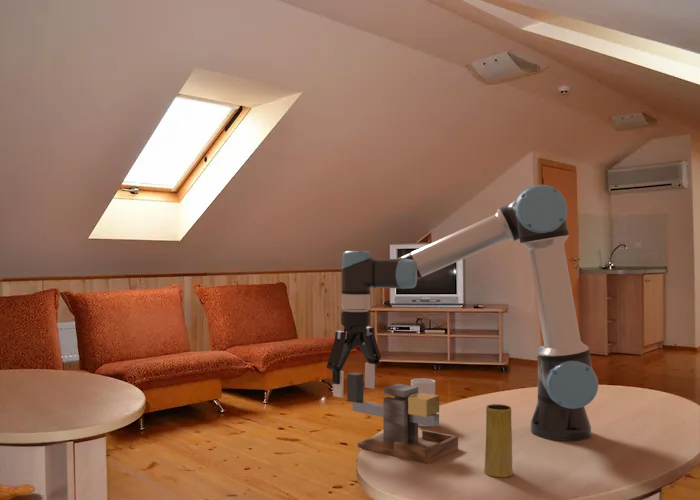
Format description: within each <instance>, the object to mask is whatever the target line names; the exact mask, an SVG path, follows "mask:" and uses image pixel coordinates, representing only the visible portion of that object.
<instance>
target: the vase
mask: <svg viewBox="0 0 700 500" xmlns="http://www.w3.org/2000/svg"><path fill="white" fill-rule="evenodd" d="M485 410H486V411H485V414H486V415H485V416H486V417H485V418H486V423H485V425H486V427H485V428H486V429H485V430H486V431H485V433H486V434H485V454H484V455H485V457H484V474H486V475H487V476H489V477H493V478H499V479H500V478H501V479H503V478H504V479H505V478H509V477H512V476H513V475H514V471H513V438H512V437H513V436H512V435H513V433H512V432H513V431H512V430H513V429H512V407H511V406H510V405H507V404H499V403H498V404H497V403H494V404H488V405H486V409H485Z"/></svg>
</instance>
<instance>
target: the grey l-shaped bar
mask: <svg viewBox="0 0 700 500" xmlns="http://www.w3.org/2000/svg"><path fill="white" fill-rule="evenodd" d="M346 375H347V376H346V379H347V381H346V383H347V384H346V387H347V388H346V389H347V391H346V398H347V399H346V401H347V402H351V403H352V410H351V411H352V412H356V413H362V414H367V415H371V416H377V417H380V418H381V417H382V418H383V403H377V402H372V401H366V400H364V373H361V372H356V371H355V372H350V373H347V374H346ZM408 422H413V423H418V424H423V425H429V426H428V427H436V426H438V425H440V414H439V413H436V414H433V415H431V416H428V417H423V416H417V415H412V414H408Z"/></svg>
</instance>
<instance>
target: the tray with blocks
mask: <svg viewBox="0 0 700 500" xmlns="http://www.w3.org/2000/svg"><path fill="white" fill-rule="evenodd" d="M416 393H418V387H416V386H411V384H410V385H408V384H403V383H395V384H392V385H388V386H385V387H383V395H387V396H393V397H387V396H385V397H383V403H382V404H383V417H382V419H383V427H382V428H383V429H382V431H383V433H380V434H377V435H375V436H372V437H370V438H368V439H364V440H361V441H359V442H357V448H359V449H364V450H367V451H373V452H377V453H381V454H386V455H389V456H394V457H399V458H403V459H407V460H410V461H415V462H420V463H425V464H428V465H429V464H432V463H434V462H435V461H437V460H439V459H441V458H443V457H445V456H446V455H449V454H451V453H453V452H454V451H456V450H459V436H458V435H453V434H447V433H443V432H442V433H441V432H438V431H433V430H427V429H422V430H421V431H422V432H421V436H419V426H418V423H413V422H408V397H410V396H411V395H413V394H416Z"/></svg>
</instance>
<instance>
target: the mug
mask: <svg viewBox="0 0 700 500" xmlns="http://www.w3.org/2000/svg"><path fill="white" fill-rule="evenodd" d="M410 386H416V387H418V393H416V394H419V393H426V394H433V395H436V380H435V379H432V378H412V379H410ZM416 394H413V395H416ZM413 395H410V396H413ZM418 427H420V428H421V427H423V428H424V427H430V426H429V425H423V424H418Z"/></svg>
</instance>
